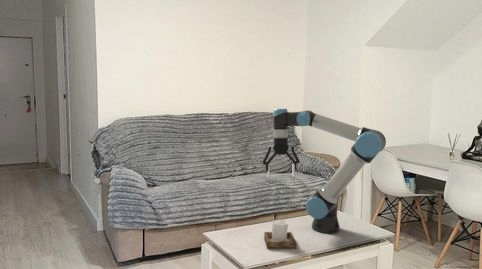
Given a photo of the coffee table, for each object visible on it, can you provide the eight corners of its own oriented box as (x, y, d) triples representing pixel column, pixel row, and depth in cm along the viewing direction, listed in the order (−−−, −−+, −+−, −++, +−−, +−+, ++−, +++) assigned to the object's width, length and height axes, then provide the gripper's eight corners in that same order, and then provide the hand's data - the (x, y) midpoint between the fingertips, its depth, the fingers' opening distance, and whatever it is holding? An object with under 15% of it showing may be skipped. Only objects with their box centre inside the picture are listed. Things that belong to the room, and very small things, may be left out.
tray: (291, 238, 225) (291, 232, 224) (295, 249, 211) (296, 242, 210) (264, 238, 224) (264, 231, 223) (267, 248, 210) (267, 241, 210)
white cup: (275, 245, 212) (276, 225, 211) (268, 239, 219) (269, 220, 218) (289, 243, 215) (290, 224, 214) (282, 238, 222) (283, 219, 221)
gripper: (301, 136, 240) (302, 174, 240) (256, 137, 237) (257, 176, 238) (305, 137, 232) (305, 176, 233) (258, 138, 229) (259, 178, 230)
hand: (281, 176), depth 235 cm, fingers open, 13 cm apart
